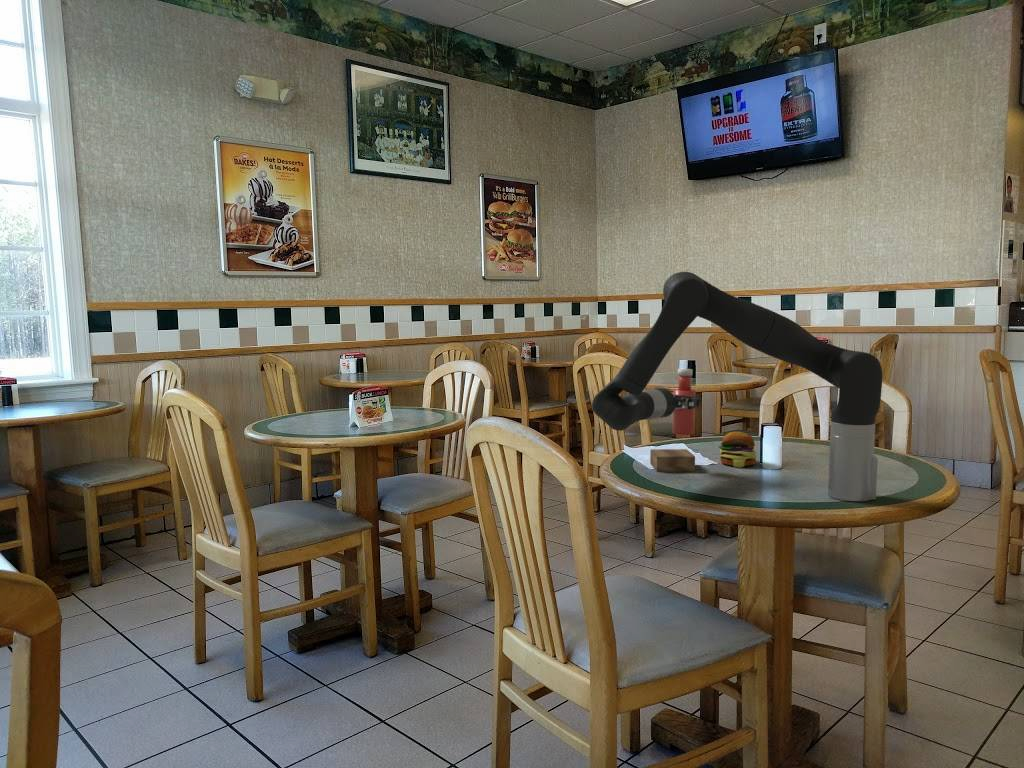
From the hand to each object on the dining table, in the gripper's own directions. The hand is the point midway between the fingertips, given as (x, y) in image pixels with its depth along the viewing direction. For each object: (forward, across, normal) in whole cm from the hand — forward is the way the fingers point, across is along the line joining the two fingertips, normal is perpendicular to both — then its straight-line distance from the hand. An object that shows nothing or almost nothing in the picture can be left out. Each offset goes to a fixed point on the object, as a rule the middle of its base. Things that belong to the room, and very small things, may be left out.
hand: (689, 398), depth 201 cm
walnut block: (-2, +4, +19) cm, 19 cm away
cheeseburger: (+15, -7, +19) cm, 25 cm away
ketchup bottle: (-3, 0, +9) cm, 9 cm away
